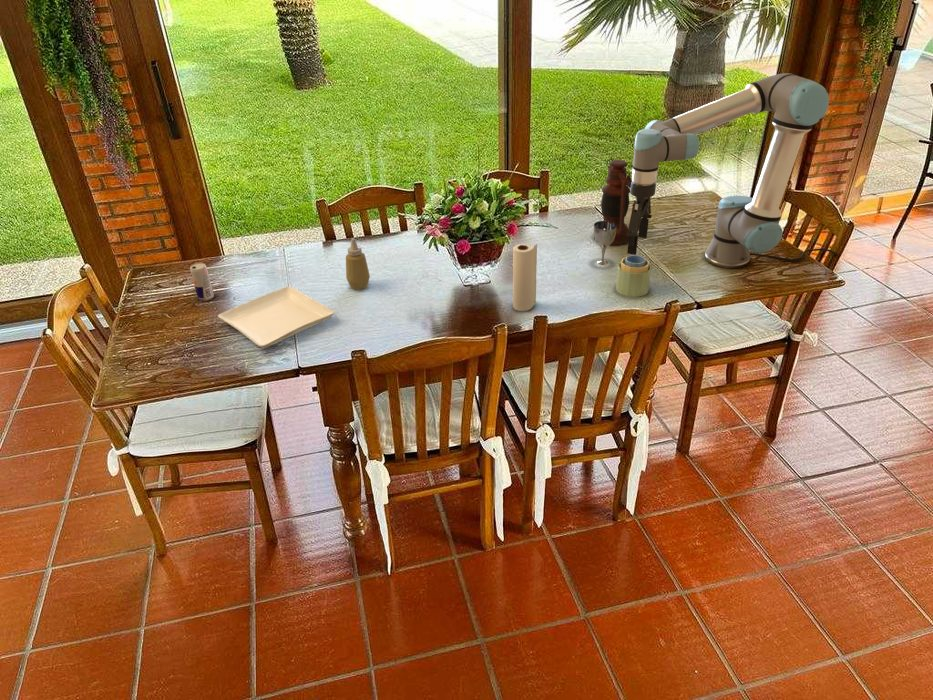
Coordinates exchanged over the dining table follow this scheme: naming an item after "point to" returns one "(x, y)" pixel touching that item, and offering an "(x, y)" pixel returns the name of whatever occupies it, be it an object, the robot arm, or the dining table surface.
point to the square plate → (276, 316)
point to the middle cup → (633, 269)
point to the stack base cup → (632, 282)
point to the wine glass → (604, 236)
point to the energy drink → (201, 281)
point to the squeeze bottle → (356, 267)
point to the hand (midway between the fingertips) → (637, 245)
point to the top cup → (635, 261)
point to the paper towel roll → (524, 276)
